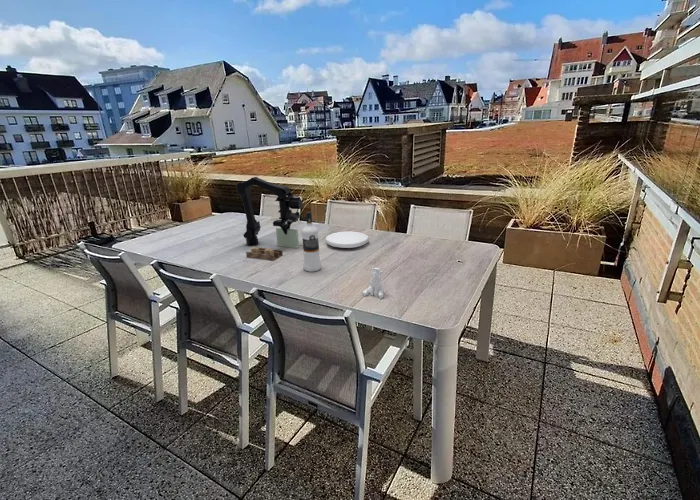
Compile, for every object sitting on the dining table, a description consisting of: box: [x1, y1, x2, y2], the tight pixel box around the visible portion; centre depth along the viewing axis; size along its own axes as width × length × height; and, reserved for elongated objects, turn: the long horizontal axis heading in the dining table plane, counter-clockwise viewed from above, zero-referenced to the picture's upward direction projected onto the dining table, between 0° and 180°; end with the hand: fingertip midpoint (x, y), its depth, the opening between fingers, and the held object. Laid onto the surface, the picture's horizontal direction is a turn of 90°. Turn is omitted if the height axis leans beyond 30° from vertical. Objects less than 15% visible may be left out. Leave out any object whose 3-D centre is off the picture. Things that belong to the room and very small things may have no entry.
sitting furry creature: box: [361, 267, 384, 300], centre depth 150 cm, size 10×9×12 cm
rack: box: [245, 247, 284, 262], centre depth 196 cm, size 18×9×4 cm, turn 68°
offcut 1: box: [250, 246, 261, 253], centre depth 196 cm, size 4×3×5 cm
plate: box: [325, 230, 370, 249], centre depth 216 cm, size 28×6×27 cm
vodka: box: [301, 211, 322, 273], centre depth 175 cm, size 9×9×30 cm
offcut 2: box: [264, 247, 274, 255], centre depth 192 cm, size 4×3×5 cm
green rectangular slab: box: [275, 227, 300, 249], centre depth 209 cm, size 14×2×11 cm, turn 68°
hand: (286, 233), depth 208 cm, fingers closed on green rectangular slab, 2 cm apart
